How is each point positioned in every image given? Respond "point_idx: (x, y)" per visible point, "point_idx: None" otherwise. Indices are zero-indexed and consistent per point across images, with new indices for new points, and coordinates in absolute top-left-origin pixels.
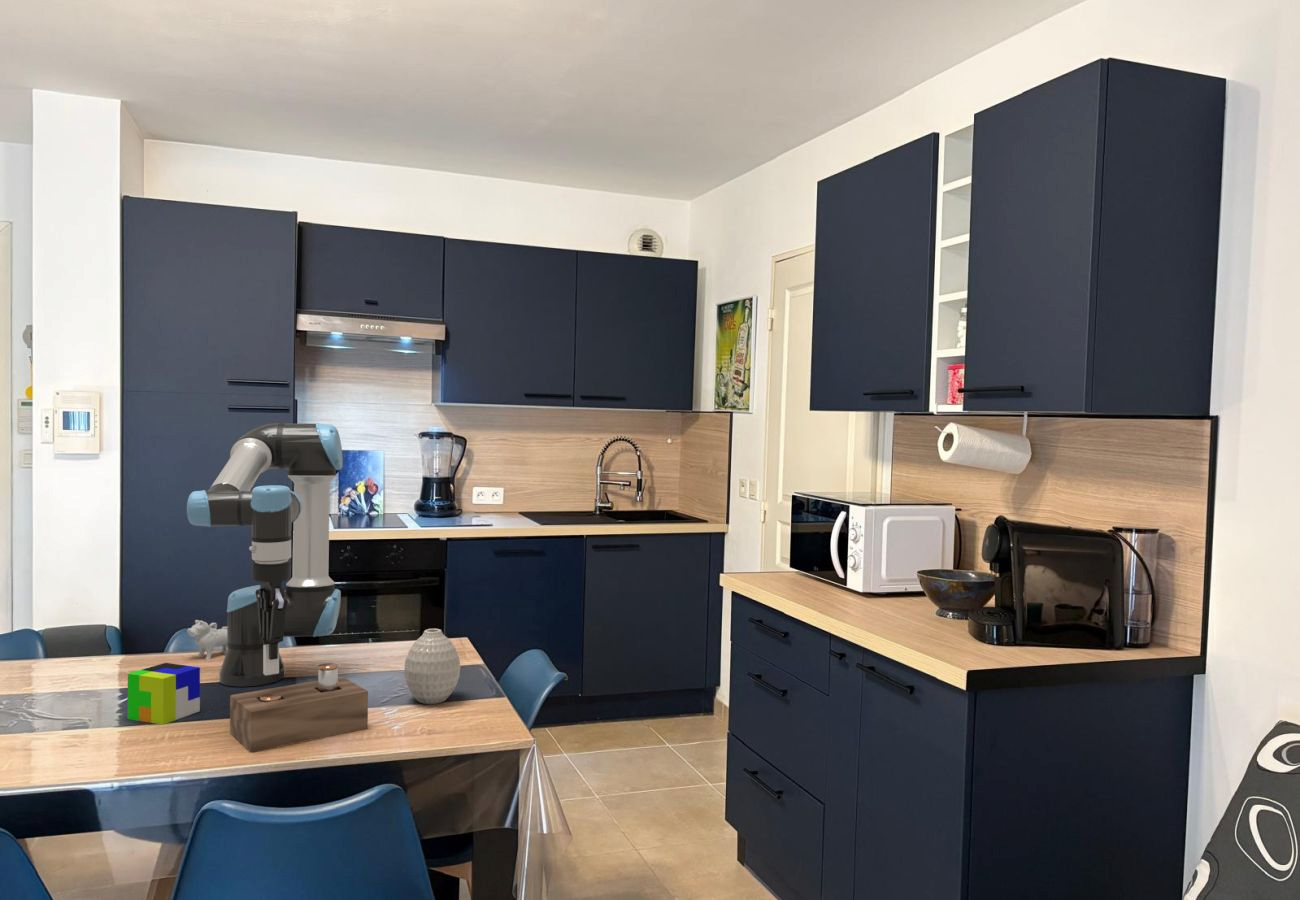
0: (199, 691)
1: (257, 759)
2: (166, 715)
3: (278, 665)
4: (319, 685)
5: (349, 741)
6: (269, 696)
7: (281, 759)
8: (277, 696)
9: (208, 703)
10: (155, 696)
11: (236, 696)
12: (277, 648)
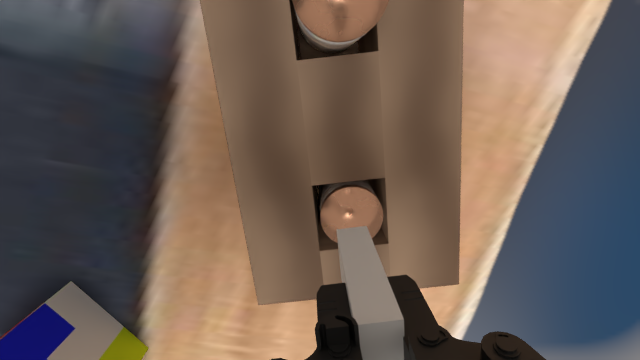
0: (34, 313)
1: (473, 228)
2: (133, 356)
3: (373, 244)
4: (344, 47)
5: (490, 14)
6: (347, 219)
7: (505, 187)
8: (360, 198)
9: (9, 258)
10: None
11: (280, 293)
12: (429, 312)
